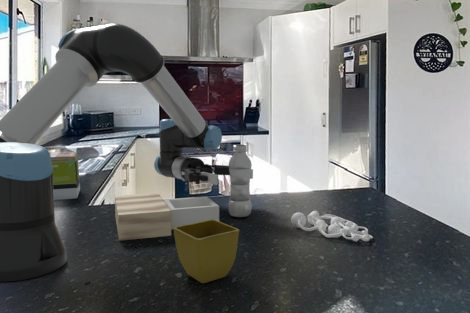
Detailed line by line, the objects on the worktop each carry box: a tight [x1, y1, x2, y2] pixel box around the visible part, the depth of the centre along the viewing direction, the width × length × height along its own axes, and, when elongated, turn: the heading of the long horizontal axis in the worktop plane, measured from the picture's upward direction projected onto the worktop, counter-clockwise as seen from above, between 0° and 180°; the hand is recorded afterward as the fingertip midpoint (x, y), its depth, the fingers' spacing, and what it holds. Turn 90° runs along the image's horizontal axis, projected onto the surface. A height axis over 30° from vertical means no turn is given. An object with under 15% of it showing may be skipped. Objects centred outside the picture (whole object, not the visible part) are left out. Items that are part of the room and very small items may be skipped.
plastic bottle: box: [228, 144, 252, 218], centre depth 114 cm, size 6×7×20 cm
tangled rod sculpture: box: [290, 210, 374, 242], centre depth 100 cm, size 19×14×4 cm
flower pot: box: [172, 219, 240, 284], centre depth 73 cm, size 9×9×9 cm
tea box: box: [49, 151, 81, 201], centre depth 143 cm, size 15×10×15 cm, turn 17°
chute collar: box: [163, 195, 220, 231], centre depth 110 cm, size 12×12×5 cm
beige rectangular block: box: [114, 192, 172, 242], centre depth 106 cm, size 22×12×6 cm, turn 18°
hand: (235, 176), depth 116 cm, fingers open, 13 cm apart
